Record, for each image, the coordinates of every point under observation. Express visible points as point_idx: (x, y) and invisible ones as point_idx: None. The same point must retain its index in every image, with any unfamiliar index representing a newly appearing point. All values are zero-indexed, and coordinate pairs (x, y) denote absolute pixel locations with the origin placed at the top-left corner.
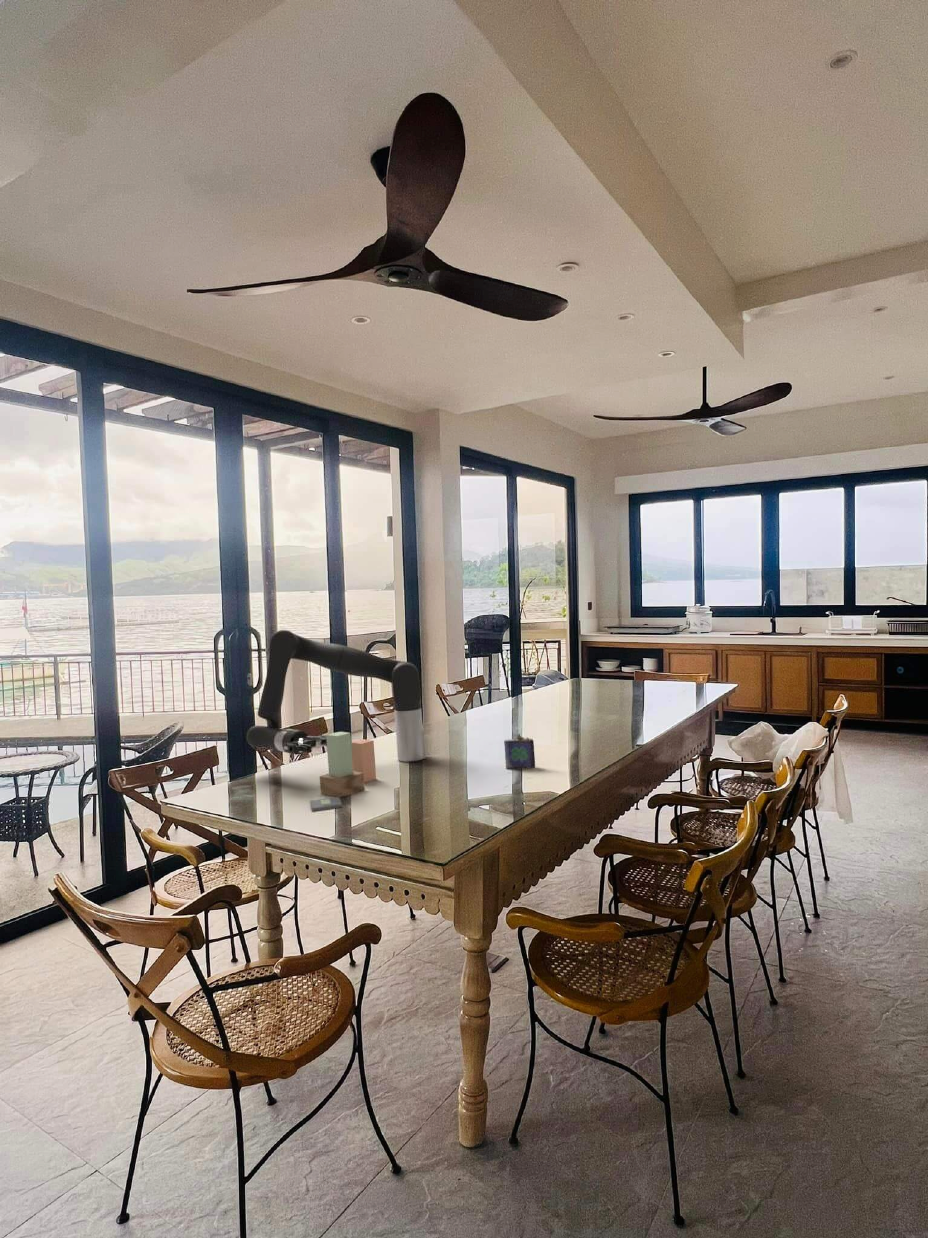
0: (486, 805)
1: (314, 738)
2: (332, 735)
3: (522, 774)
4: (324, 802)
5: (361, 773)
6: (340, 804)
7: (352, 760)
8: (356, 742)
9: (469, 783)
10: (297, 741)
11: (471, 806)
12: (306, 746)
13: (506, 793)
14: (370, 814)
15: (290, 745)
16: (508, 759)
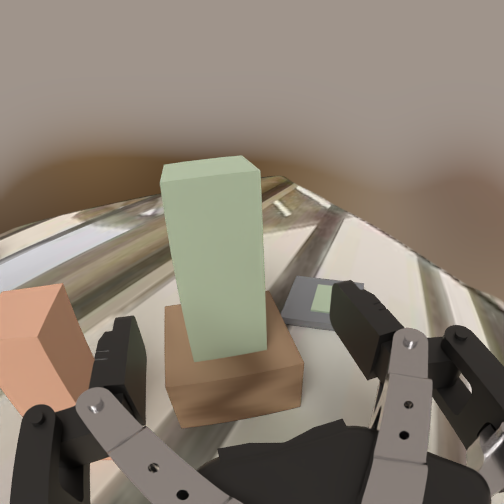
0: (143, 213)
1: (195, 472)
2: (245, 160)
3: (6, 256)
4: (329, 294)
5: (172, 305)
6: (299, 276)
7: None
8: (36, 314)
9: (56, 264)
10: (434, 497)
11: (155, 216)
12: (364, 303)
13: (92, 225)
14: (270, 241)
15: (489, 355)
16: None
